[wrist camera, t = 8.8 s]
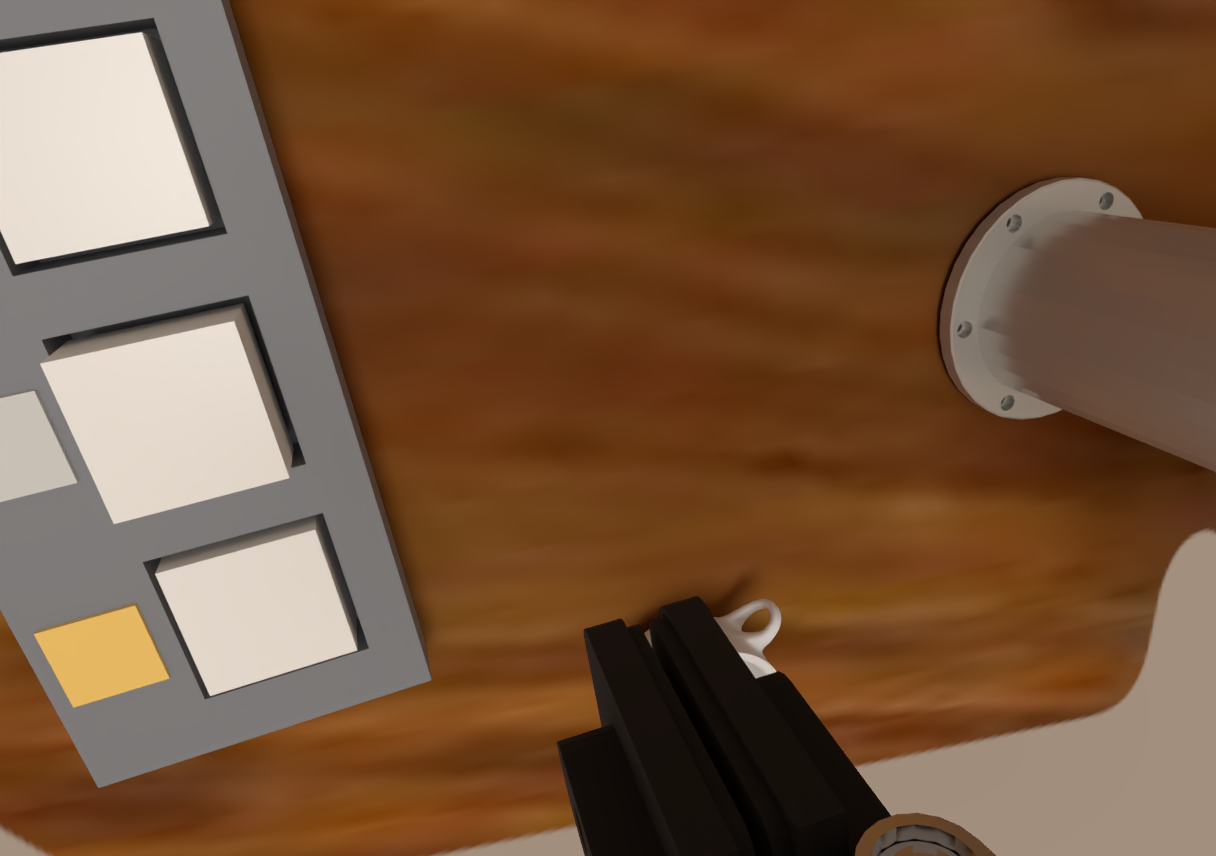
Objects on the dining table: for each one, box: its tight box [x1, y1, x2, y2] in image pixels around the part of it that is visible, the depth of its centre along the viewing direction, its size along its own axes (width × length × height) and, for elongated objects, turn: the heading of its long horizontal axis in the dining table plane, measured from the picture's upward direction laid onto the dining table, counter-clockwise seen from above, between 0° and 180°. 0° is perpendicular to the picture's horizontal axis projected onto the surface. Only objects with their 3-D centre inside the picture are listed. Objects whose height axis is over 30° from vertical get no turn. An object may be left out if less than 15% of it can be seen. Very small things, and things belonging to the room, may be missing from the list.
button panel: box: [0, 0, 432, 788], centre depth 31 cm, size 14×30×3 cm, turn 9°
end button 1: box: [155, 513, 357, 696], centre depth 34 cm, size 6×6×3 cm
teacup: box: [644, 599, 781, 678], centre depth 42 cm, size 10×8×5 cm
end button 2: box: [0, 32, 221, 264], centre depth 27 cm, size 6×6×3 cm
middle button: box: [40, 303, 294, 524], centre depth 30 cm, size 6×6×3 cm
